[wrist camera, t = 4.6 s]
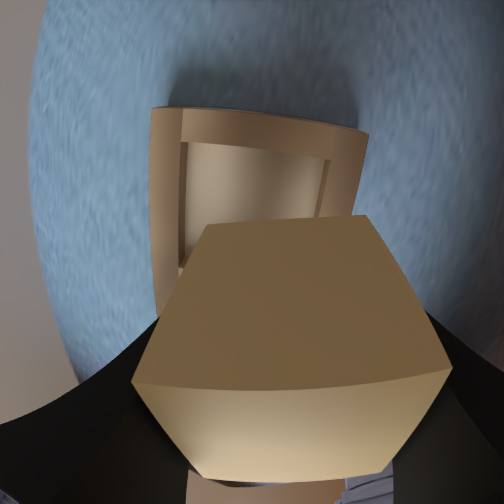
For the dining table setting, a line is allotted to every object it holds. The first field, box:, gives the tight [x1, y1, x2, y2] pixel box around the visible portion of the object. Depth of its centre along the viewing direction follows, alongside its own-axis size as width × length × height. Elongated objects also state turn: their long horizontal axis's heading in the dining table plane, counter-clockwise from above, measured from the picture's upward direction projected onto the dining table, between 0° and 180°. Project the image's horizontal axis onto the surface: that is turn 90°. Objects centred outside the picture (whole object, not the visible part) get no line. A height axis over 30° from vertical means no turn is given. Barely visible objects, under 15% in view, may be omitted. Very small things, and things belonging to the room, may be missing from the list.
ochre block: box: [131, 215, 453, 482], centre depth 8 cm, size 5×5×6 cm
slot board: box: [149, 106, 369, 318], centre depth 19 cm, size 10×26×3 cm, turn 174°
